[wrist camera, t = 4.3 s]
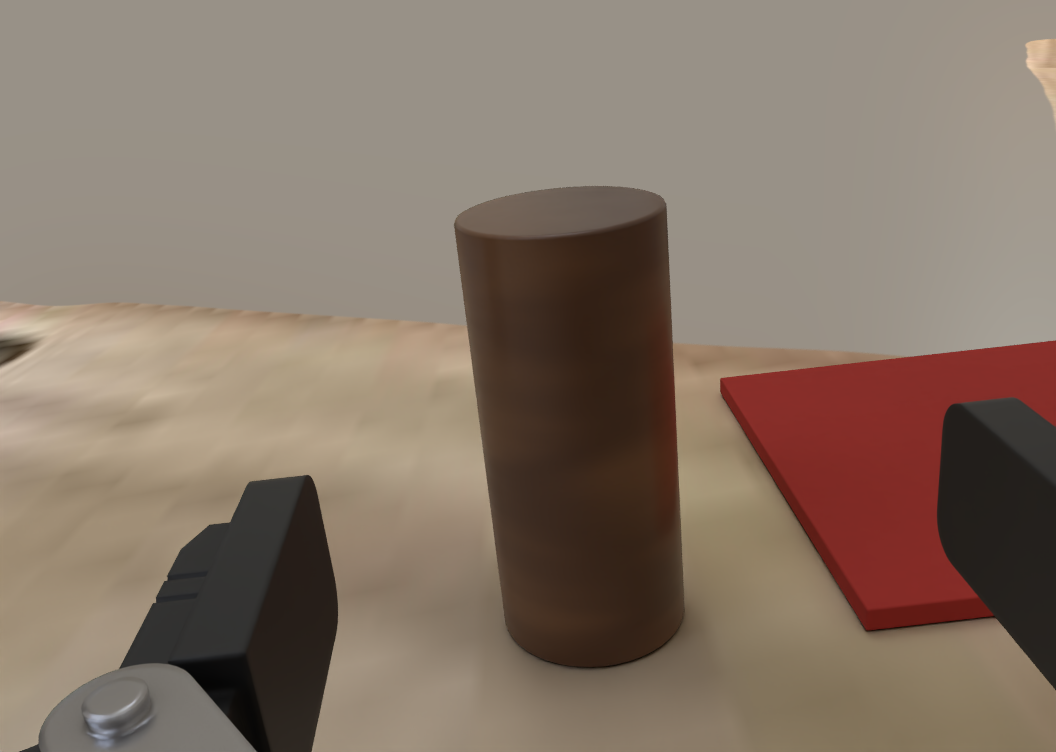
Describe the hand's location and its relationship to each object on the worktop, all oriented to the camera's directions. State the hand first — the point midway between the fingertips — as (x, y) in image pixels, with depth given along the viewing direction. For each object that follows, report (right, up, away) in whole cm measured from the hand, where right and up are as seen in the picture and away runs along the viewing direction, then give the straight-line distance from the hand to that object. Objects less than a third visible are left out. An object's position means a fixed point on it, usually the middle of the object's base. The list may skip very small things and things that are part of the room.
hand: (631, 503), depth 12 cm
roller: (0, -4, +12) cm, 12 cm away
